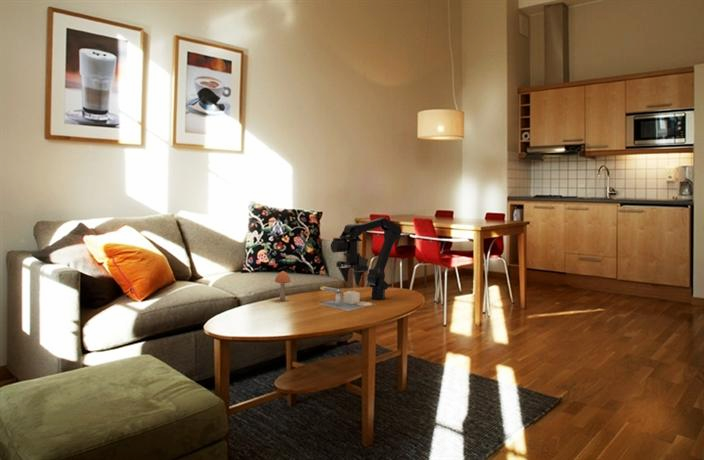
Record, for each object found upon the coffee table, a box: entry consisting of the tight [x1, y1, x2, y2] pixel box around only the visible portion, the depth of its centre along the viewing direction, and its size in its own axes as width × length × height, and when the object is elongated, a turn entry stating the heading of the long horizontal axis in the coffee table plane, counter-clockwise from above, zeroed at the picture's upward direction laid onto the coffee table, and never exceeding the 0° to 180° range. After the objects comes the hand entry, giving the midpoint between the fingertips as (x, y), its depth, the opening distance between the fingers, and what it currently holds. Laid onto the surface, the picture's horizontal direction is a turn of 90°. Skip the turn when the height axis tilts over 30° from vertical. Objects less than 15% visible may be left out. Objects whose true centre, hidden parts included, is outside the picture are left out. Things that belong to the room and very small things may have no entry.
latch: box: [320, 286, 343, 294], centre depth 240 cm, size 12×4×1 cm, turn 49°
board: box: [318, 292, 376, 312], centre depth 240 cm, size 19×20×7 cm
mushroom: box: [274, 270, 292, 302], centre depth 252 cm, size 8×8×15 cm
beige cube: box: [343, 290, 361, 304], centre depth 244 cm, size 5×5×5 cm
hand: (351, 283), depth 243 cm, fingers open, 9 cm apart
